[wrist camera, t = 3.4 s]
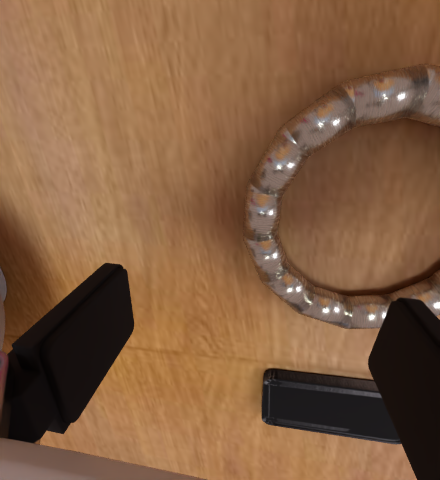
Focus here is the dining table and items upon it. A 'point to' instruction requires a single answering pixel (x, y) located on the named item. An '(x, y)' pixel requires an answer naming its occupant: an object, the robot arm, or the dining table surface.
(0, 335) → the decorative bowl
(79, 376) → the robot arm
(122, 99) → the dining table surface
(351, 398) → the phone
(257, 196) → the ring
